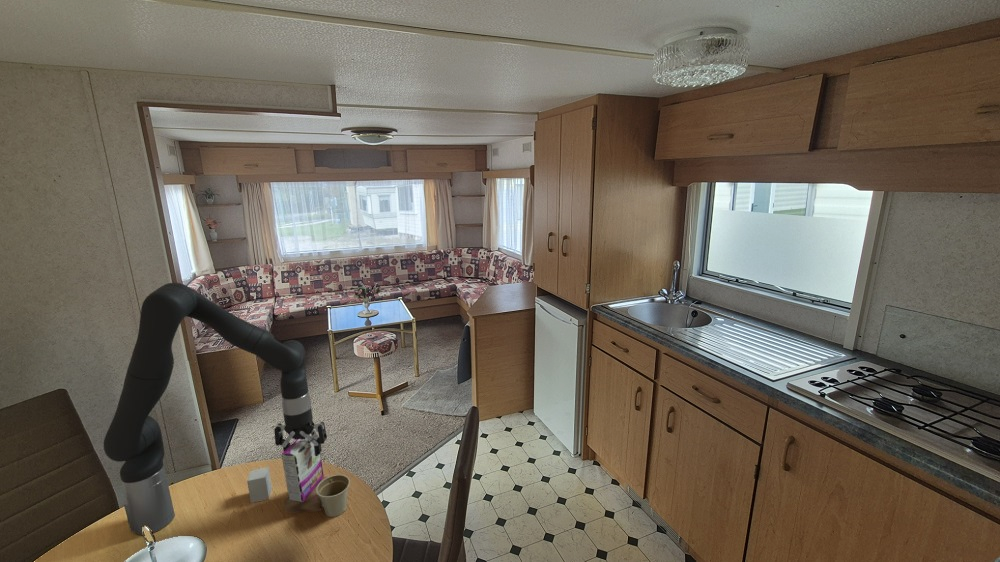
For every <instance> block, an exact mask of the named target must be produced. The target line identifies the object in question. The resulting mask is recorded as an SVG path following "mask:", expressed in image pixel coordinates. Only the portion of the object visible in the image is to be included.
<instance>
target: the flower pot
mask: <svg viewBox="0 0 1000 562" xmlns="http://www.w3.org/2000/svg"><path fill="white" fill-rule="evenodd" d="M326 477H327V478H325V479H324V480H322V481H321V482H320V483H319V484H318V486H317V488H316V493H317V495H318V496H319V497H320V498H321V501H322V504H323V506H322V508H323V509H324V512H325V515H326V516H328V517H331V518H336V517H338V516H341V515H342V514H343V513H344V512H345V511H346V510H347V508H348V492H349V491H348V490H349V486H350V484H351V479H350V478H349V476H347V475H345V474H334V475H330V476H326Z"/></svg>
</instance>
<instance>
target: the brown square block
mask: <svg viewBox="0 0 1000 562" xmlns="http://www.w3.org/2000/svg"><path fill="white" fill-rule="evenodd" d="M327 477H328V476H324V477H323V479H322V480H324V479H325V478H327ZM322 480H321V481H322ZM321 481H320V482H321ZM320 482H319V483H320ZM319 483H318V484H319ZM317 486H318V485H317ZM317 486H316V487H315V488H314V489H313V491H312V492H311V493H310V494H309V496H308V497H307V498H306V499H305V500H304V502H298V501H291V500H289V495H288V494H287V497H286V499H285V500H284V507H285V513H286V514H287V513H289V514H291V513H293V514H294V513H308V512H309V513H310V512H311V513H313V512H320V511H322V509H323V504H322V501H321V498H320V497H319V496H318V495H317V493H316V488H317Z"/></svg>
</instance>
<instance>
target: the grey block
mask: <svg viewBox="0 0 1000 562" xmlns="http://www.w3.org/2000/svg"><path fill="white" fill-rule="evenodd" d="M271 479H272V478H271V473H270V467H269V466H266V467H263V468H262V467H261V468H257V469H253V470H250V472H249V475H248V477H247V480H246V482H247V488H248V493H249V500H250V504H252V503H257V502H258V503H259V502H262V501H265V500H266V499H267V500H270V497H271V493H272V489H273V487H272V480H271ZM267 500H266V501H267Z"/></svg>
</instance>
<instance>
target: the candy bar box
mask: <svg viewBox="0 0 1000 562" xmlns="http://www.w3.org/2000/svg"><path fill="white" fill-rule="evenodd" d="M316 433H317V435H318V436H319V433H318V432H316ZM310 436H311V434H310ZM281 459H282V467H283V472H284V477H285V483H286V488H287V489H286V490H287V496H288V495H289V500H291V501H298V502H304V500H305V499H306V498H307V497H308V496H309V494H310V493H311V492H312V491H313V489H314V488H315V487H316V486H317V485H318V483H319V482H320V481H321V480H322V479H323V477H325V476H324V475H325V474H324V470H323V469H324V468H323V463H322V462H323V461H322V456H321V453H320V454H319V455H318V456H315V451H314V444H313V443H312V442H309V441H308V440H307V439H297V440H294V442H293V443H290V446H289V447H288V448H287V449H286V450H285V451H283V452H282V453H281Z"/></svg>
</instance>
